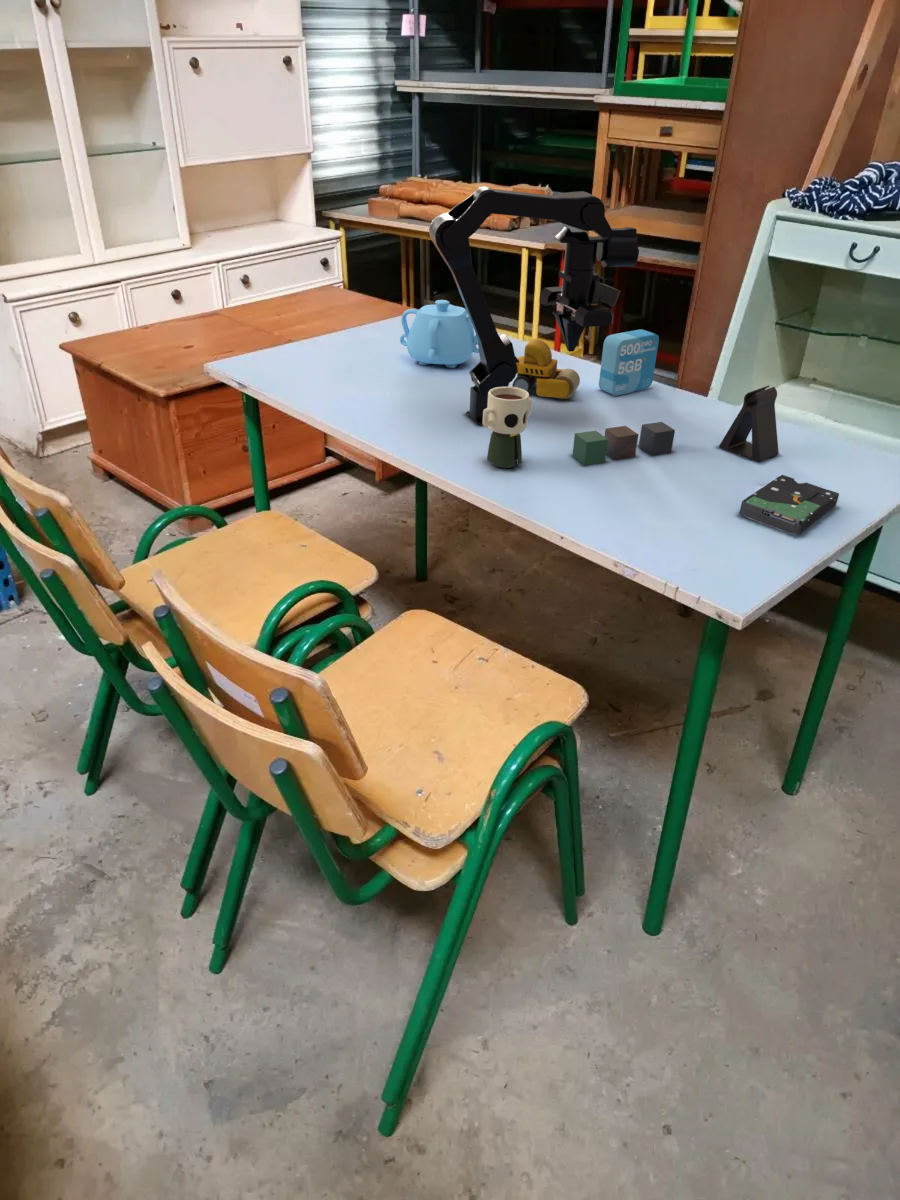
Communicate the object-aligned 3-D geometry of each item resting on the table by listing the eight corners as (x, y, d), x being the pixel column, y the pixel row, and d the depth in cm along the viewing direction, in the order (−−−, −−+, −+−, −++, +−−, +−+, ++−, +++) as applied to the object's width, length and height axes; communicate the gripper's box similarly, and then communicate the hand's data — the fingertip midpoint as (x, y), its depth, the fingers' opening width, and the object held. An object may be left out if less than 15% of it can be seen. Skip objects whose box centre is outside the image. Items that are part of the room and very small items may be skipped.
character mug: (494, 477, 151) (498, 405, 144) (468, 463, 156) (471, 393, 149) (540, 462, 157) (546, 393, 150) (513, 449, 162) (518, 381, 155)
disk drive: (776, 488, 151) (737, 515, 142) (780, 473, 150) (741, 500, 140) (835, 508, 145) (799, 537, 136) (840, 492, 144) (803, 521, 134)
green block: (584, 465, 157) (586, 442, 154) (572, 455, 160) (574, 433, 158) (605, 462, 158) (608, 439, 156) (593, 452, 162) (595, 430, 159)
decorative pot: (458, 347, 214) (459, 290, 207) (487, 366, 202) (490, 306, 195) (396, 354, 208) (395, 295, 201) (423, 374, 196) (423, 313, 189)
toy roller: (571, 403, 183) (577, 353, 177) (505, 394, 187) (508, 345, 181) (580, 390, 190) (585, 342, 184) (516, 381, 194) (519, 334, 188)
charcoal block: (651, 455, 161) (655, 432, 159) (638, 446, 165) (641, 424, 162) (671, 452, 163) (675, 430, 160) (658, 443, 166) (661, 421, 164)
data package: (611, 397, 187) (618, 341, 180) (597, 390, 190) (604, 335, 184) (652, 388, 193) (660, 333, 186) (637, 382, 196) (645, 328, 189)
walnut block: (614, 459, 159) (617, 437, 157) (602, 450, 163) (605, 428, 160) (635, 456, 161) (638, 434, 158) (622, 447, 164) (625, 425, 162)
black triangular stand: (778, 455, 163) (793, 393, 156) (759, 463, 160) (774, 400, 153) (737, 440, 169) (750, 379, 162) (718, 447, 165) (731, 385, 159)
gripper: (643, 276, 157) (631, 361, 166) (592, 254, 172) (583, 334, 180) (589, 280, 154) (580, 367, 162) (541, 257, 168) (535, 338, 177)
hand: (570, 351), depth 171 cm, fingers closed
